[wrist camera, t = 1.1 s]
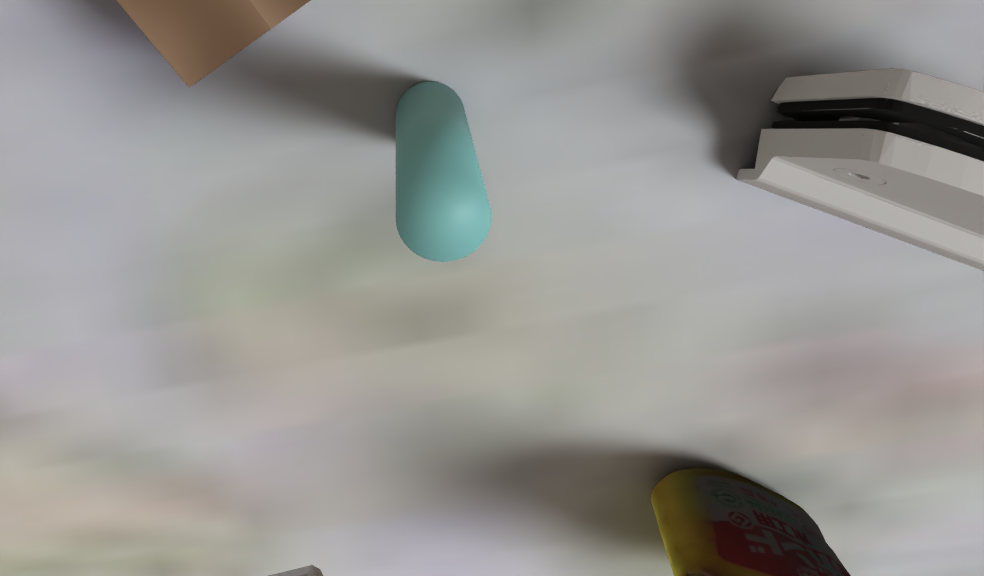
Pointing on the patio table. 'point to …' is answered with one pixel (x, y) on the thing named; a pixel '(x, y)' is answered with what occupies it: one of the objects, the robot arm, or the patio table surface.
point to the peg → (438, 176)
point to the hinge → (882, 156)
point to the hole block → (205, 29)
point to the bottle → (737, 528)
